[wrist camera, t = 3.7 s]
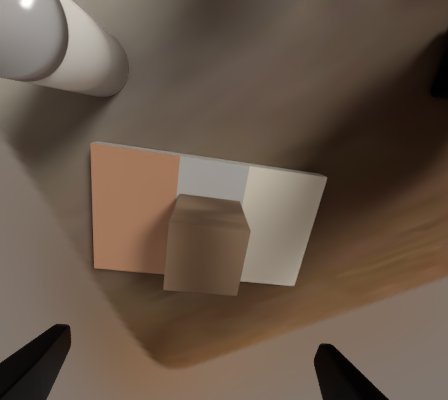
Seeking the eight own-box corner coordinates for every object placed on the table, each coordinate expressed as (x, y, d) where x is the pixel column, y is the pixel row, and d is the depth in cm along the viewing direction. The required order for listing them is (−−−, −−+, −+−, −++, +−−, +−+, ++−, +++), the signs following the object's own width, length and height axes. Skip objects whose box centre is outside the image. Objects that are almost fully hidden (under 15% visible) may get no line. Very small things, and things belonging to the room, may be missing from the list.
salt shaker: (129, 34, 15) (46, -54, 7) (128, 101, 16) (56, 86, 9) (62, 21, 14) (-100, -87, 7) (66, 91, 16) (-66, 66, 8)
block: (239, 201, 18) (250, 231, 13) (230, 252, 19) (236, 296, 14) (180, 193, 17) (169, 221, 12) (174, 246, 19) (163, 290, 14)
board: (320, 173, 19) (327, 177, 17) (289, 277, 22) (294, 286, 21) (98, 141, 17) (90, 143, 16) (100, 259, 20) (94, 268, 19)
